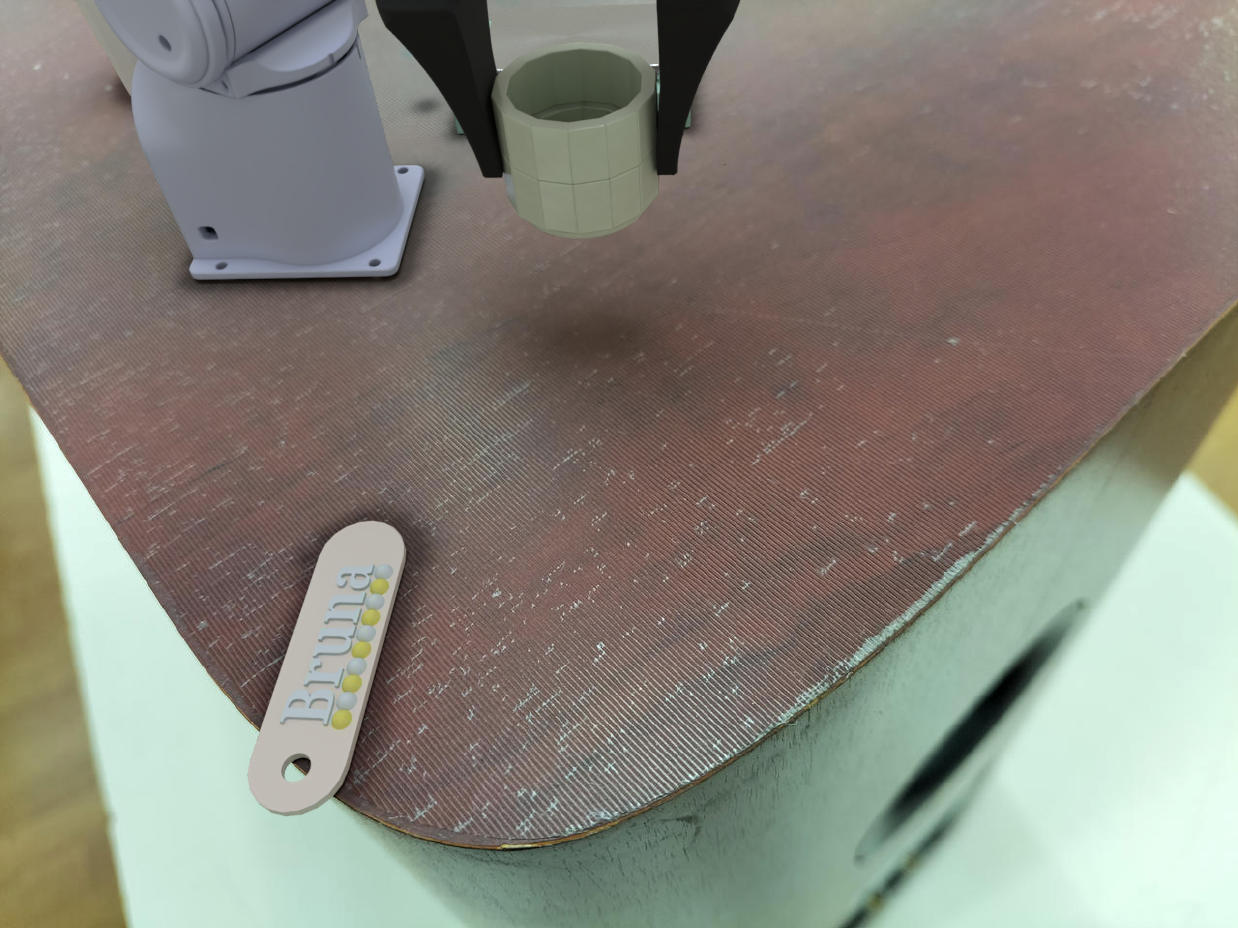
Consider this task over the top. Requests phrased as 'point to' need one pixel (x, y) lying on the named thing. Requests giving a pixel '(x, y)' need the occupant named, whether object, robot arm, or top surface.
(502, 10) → the pan
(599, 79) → the green faceted cup
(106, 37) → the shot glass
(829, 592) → the top surface
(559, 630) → the top surface
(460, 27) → the robot arm
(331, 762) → the keychain
